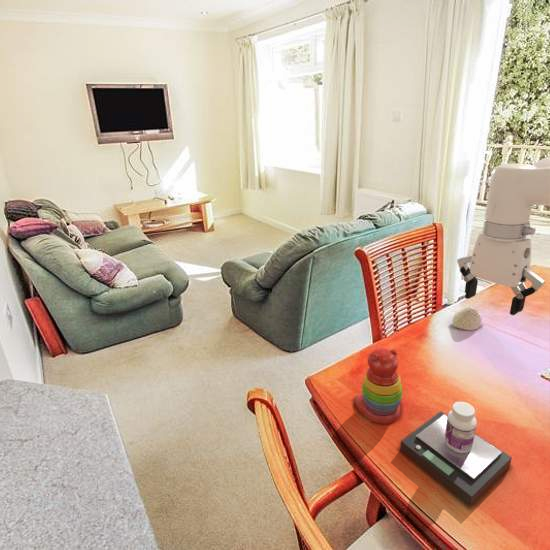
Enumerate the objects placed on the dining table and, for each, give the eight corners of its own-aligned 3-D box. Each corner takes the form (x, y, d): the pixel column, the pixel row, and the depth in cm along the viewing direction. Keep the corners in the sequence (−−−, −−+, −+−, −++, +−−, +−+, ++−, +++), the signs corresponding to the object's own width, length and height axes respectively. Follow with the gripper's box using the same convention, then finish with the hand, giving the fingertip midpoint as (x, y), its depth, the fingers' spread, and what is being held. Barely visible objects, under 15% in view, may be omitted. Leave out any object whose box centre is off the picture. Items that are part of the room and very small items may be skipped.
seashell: (491, 320, 121) (481, 317, 116) (471, 337, 125) (460, 335, 120) (474, 302, 127) (463, 299, 122) (455, 319, 130) (444, 316, 125)
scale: (509, 467, 76) (512, 456, 75) (469, 507, 70) (472, 495, 68) (439, 420, 89) (440, 410, 87) (400, 450, 82) (400, 439, 81)
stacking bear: (391, 391, 99) (394, 335, 92) (410, 420, 90) (416, 359, 82) (352, 399, 97) (352, 342, 90) (368, 429, 88) (369, 368, 81)
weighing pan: (501, 454, 76) (502, 451, 75) (473, 481, 71) (473, 478, 71) (443, 416, 86) (444, 414, 86) (415, 438, 81) (415, 435, 81)
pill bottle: (445, 430, 81) (449, 395, 78) (472, 437, 79) (478, 402, 75) (443, 449, 77) (448, 414, 73) (472, 457, 75) (478, 421, 71)
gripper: (563, 233, 69) (544, 313, 76) (473, 217, 83) (464, 286, 90) (544, 243, 66) (525, 326, 72) (453, 224, 79) (444, 296, 86)
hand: (491, 304), depth 81 cm, fingers open, 9 cm apart
